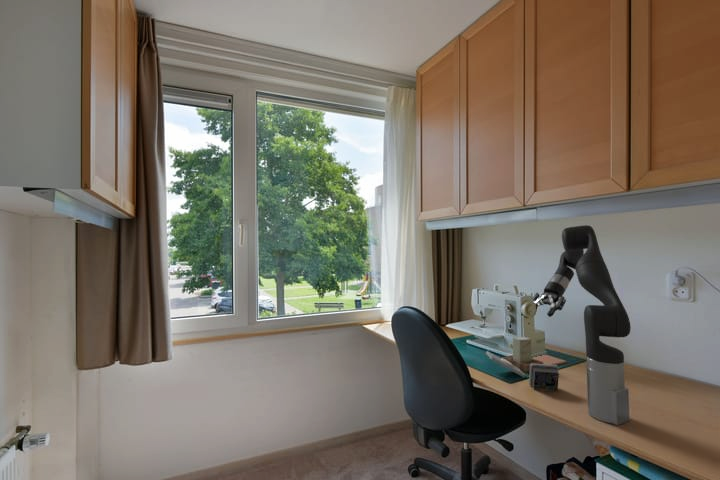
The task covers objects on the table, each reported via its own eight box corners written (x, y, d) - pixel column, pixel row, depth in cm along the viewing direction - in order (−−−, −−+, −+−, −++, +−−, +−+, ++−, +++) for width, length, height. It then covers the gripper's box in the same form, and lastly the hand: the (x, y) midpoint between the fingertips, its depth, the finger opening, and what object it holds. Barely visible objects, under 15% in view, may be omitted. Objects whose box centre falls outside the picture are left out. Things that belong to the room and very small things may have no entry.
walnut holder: (543, 369, 141) (542, 362, 141) (526, 373, 137) (525, 365, 137) (519, 360, 152) (518, 353, 152) (502, 364, 147) (502, 357, 148)
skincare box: (520, 369, 141) (519, 340, 141) (512, 365, 145) (511, 337, 145) (532, 367, 143) (531, 338, 143) (524, 364, 147) (523, 336, 147)
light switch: (527, 373, 131) (493, 355, 133) (520, 387, 132) (486, 368, 133) (519, 366, 140) (487, 348, 142) (513, 378, 140) (481, 361, 142)
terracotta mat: (566, 362, 148) (566, 361, 148) (547, 367, 143) (547, 365, 143) (541, 355, 159) (541, 353, 159) (523, 358, 154) (523, 357, 154)
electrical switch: (557, 387, 122) (556, 363, 122) (561, 395, 117) (561, 369, 117) (528, 385, 125) (528, 361, 124) (532, 392, 120) (531, 367, 119)
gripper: (538, 279, 160) (522, 305, 155) (567, 282, 147) (550, 311, 142) (546, 290, 162) (530, 316, 157) (576, 293, 149) (559, 322, 144)
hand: (540, 313), depth 149 cm, fingers open, 8 cm apart
